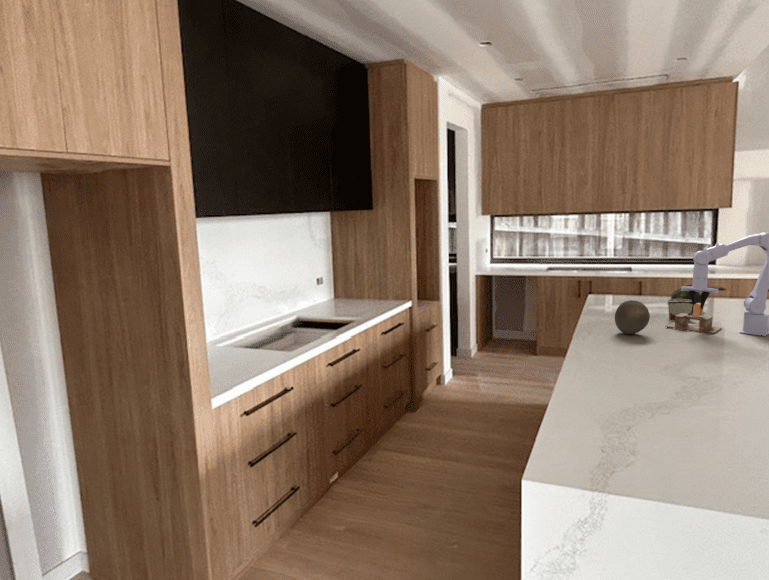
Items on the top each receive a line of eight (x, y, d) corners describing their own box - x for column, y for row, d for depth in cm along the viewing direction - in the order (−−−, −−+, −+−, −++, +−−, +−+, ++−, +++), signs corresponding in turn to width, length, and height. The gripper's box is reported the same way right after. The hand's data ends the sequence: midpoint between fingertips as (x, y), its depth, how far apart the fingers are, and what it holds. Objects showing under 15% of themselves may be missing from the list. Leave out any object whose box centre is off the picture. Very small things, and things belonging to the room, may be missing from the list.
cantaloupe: (612, 336, 243) (613, 302, 241) (615, 329, 256) (617, 297, 254) (647, 339, 237) (649, 304, 235) (649, 332, 249) (651, 299, 247)
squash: (660, 299, 303) (678, 280, 293) (679, 297, 310) (697, 279, 299) (676, 319, 295) (695, 301, 285) (695, 317, 301) (714, 300, 291)
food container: (687, 318, 279) (688, 298, 277) (693, 320, 273) (694, 300, 271) (661, 318, 280) (663, 298, 279) (666, 320, 274) (668, 300, 272)
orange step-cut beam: (702, 315, 253) (703, 303, 252) (698, 317, 248) (699, 305, 247) (696, 314, 254) (697, 302, 254) (692, 316, 249) (693, 304, 249)
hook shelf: (721, 329, 253) (722, 316, 252) (713, 334, 244) (714, 321, 243) (674, 323, 267) (674, 311, 266) (665, 327, 258) (665, 315, 257)
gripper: (679, 277, 250) (677, 307, 252) (716, 280, 241) (714, 311, 242) (684, 276, 255) (682, 305, 257) (720, 278, 246) (718, 308, 248)
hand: (698, 307), depth 250 cm, fingers closed on orange step-cut beam, 2 cm apart
